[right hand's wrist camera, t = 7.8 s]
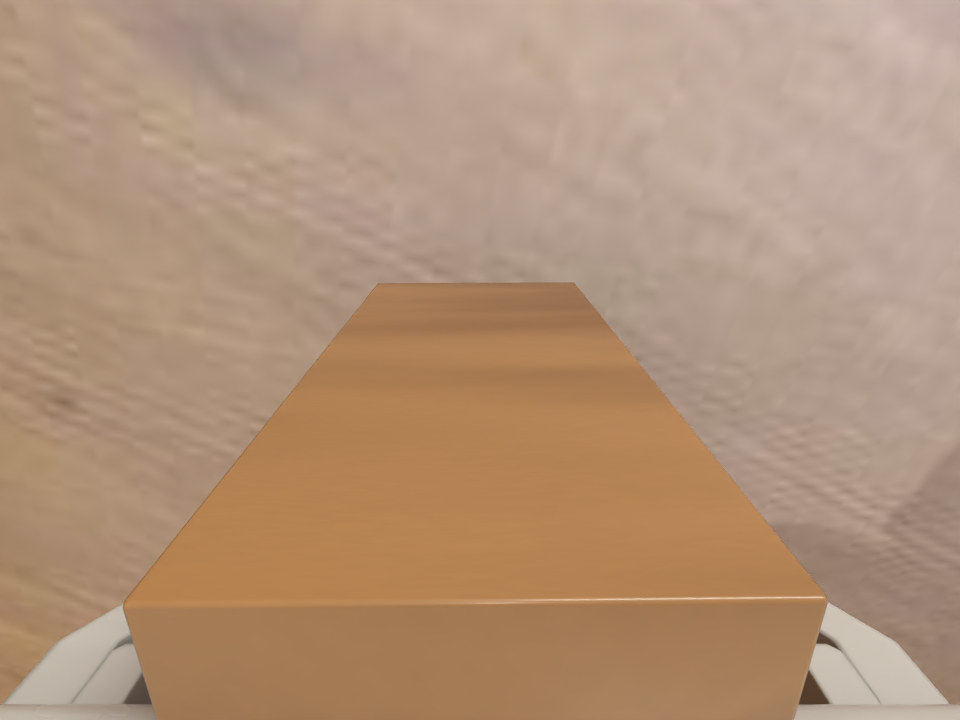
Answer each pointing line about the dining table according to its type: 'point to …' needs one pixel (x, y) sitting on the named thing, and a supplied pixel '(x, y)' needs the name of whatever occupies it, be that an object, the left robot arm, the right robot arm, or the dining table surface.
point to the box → (476, 539)
